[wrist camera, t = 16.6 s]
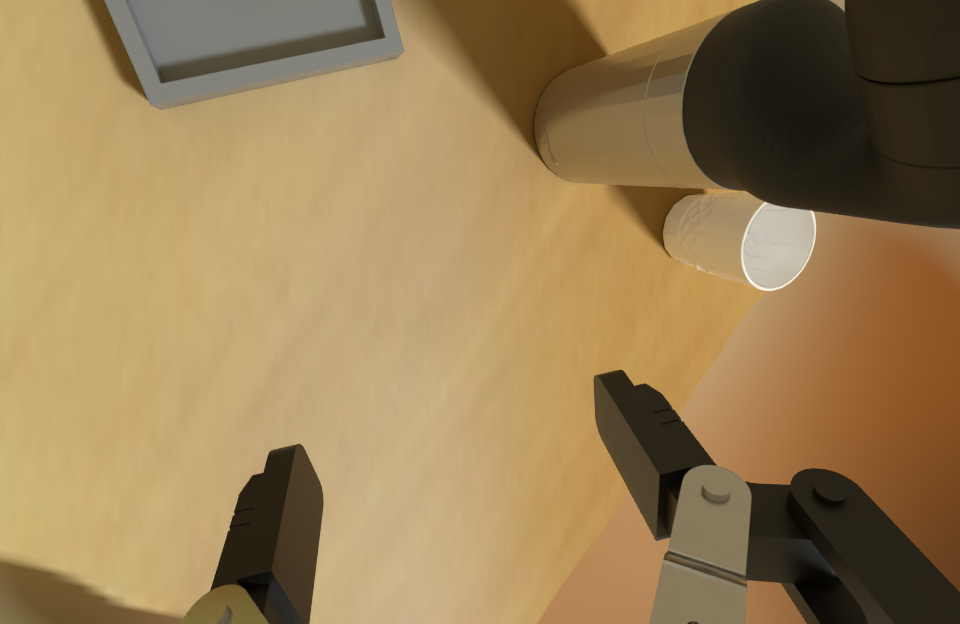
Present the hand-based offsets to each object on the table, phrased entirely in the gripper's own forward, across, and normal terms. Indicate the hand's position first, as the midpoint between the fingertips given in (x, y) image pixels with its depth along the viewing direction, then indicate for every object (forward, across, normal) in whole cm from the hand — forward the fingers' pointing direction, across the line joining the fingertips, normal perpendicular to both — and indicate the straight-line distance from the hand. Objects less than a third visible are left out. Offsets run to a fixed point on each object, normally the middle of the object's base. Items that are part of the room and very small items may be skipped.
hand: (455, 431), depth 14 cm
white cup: (+32, -26, +12) cm, 43 cm away
